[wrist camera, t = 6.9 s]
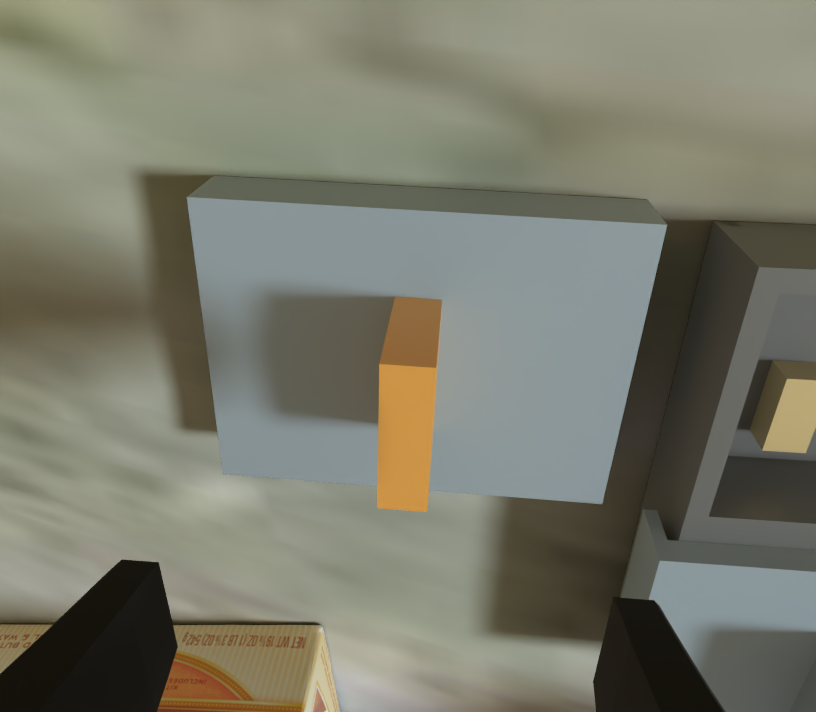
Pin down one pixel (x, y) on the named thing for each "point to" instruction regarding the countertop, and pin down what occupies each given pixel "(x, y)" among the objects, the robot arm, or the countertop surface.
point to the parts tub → (744, 396)
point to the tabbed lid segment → (421, 334)
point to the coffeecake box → (230, 667)
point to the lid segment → (735, 614)
